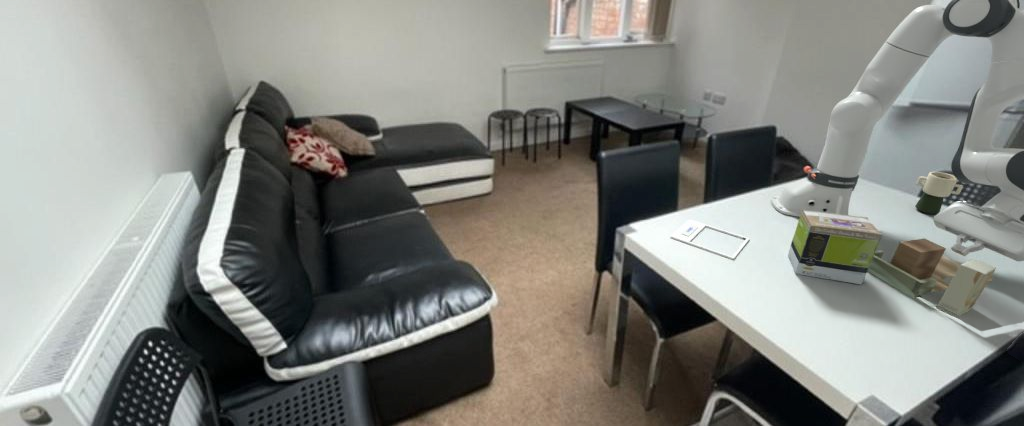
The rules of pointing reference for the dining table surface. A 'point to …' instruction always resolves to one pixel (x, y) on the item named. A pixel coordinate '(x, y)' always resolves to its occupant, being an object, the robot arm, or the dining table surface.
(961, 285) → the skincare box
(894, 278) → the wooden slotted tray
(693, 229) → the photo frame
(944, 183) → the cream and green cup
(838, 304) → the dining table surface
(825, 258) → the tea box
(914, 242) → the walnut block
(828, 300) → the dining table surface
